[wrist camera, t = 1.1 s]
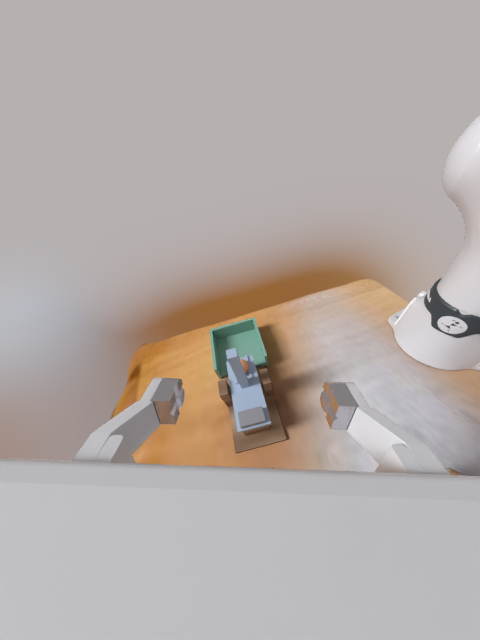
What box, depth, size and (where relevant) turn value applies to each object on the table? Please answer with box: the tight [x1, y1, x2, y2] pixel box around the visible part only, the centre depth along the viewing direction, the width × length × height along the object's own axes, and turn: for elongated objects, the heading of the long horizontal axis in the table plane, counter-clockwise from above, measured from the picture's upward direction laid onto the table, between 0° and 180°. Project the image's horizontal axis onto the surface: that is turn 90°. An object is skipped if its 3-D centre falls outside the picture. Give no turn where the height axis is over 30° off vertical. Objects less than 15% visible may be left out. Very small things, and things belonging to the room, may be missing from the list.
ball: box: [240, 359, 248, 373], centre depth 39 cm, size 3×3×3 cm
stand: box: [218, 367, 287, 453], centre depth 39 cm, size 16×10×8 cm, turn 11°
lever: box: [226, 348, 271, 433], centre depth 34 cm, size 14×6×13 cm, turn 11°
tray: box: [210, 318, 269, 379], centre depth 49 cm, size 12×12×5 cm
